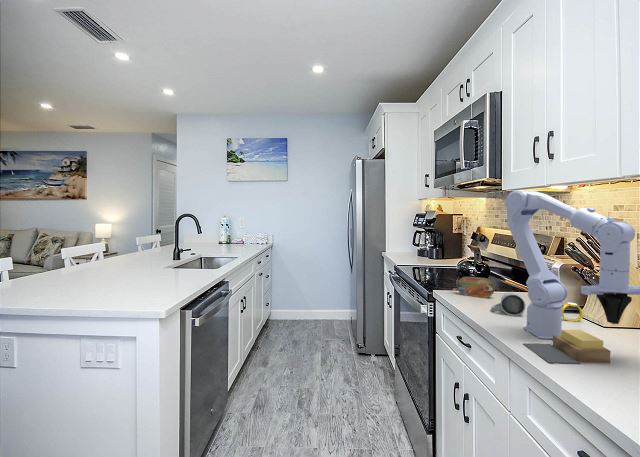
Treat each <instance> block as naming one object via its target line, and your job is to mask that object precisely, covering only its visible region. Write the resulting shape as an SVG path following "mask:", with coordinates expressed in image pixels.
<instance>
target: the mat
mask: <svg viewBox="0 0 640 457" xmlns="http://www.w3.org/2000/svg"><path fill="white" fill-rule="evenodd" d="M522 345H523V346H524V347H526V348H527V349H529V350H530V351H531V352H532V353H534V354H535V355H537V356H538V357H539V358H541V359H542V360H544V361H545V362H546V363H548V364H553V363H559V364H562V365H563V364H566V365H569V364H570V365H571V364H572V365H580V364H581V362H578V361H576V360H575V359H573V358H572V357H570V356H569V355H567V354H565V353H564V352H562V351H561V350H559V349H558V348H556V347H554V346H553V344H552V343H527V342H526V343H525V342H524V343H522ZM559 364H558V365H559Z"/></svg>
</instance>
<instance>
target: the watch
mask: <svg viewBox="0 0 640 457" xmlns="http://www.w3.org/2000/svg"><path fill="white" fill-rule="evenodd" d="M567 307H574V308H575V307H576V308H577V309H578V311H579V315H578V317H577V318H576V319H573V318H572V319H570V318H566V317H565V314H564V312H565V309H566V308H567ZM583 317H584V311H583V309H582V308H581V307H580V306H579V305H578V304H577V303H575V302H566V304H563V305H562V319H564V320H565V321H567V322H576V321H578V322H579V321H581V319H582V318H583Z"/></svg>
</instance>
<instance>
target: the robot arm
mask: <svg viewBox="0 0 640 457" xmlns="http://www.w3.org/2000/svg"><path fill="white" fill-rule="evenodd" d="M503 204H504V206H505V209H506V223H507V224H506V225H507V226H508V230H509V231H510V234H511V235H512V239H513V240H514V242H515V245H516V247H517V250H518V253H519V254H520V257H521V259H522V262H523V264H524V266H525V268H526V271H527V273H528V275H529V276H528V278H527V280H526V282H525V284H526V286H527V295H528V298H529V300H530V301H531V302H530V303H529V304H528V305H527V308H526V326H523V329H525V330H526V331H527V332H528V333H531V334H533V335H534V336H535V337H537V338H538V339H540V340H541V339H542V340H553V335H560V336H561V330H562V326H563V325H562V320H563V317H562V307H563V302H564V301H565V300H566V299H567V298H568V290H567V287H566V286H565V285H564V284H563V283H562V282H561V281H560V279H559V277H558V276H557V275H556V274H554V273H553V272H552V271H551V270H550V269H549V267H548V264H547V262H546V260H545V258H544V255H543V252H541V249H540V247H539V244H538V242H537V240H536V238H535V236H534V233H533V231H532V228H531V226H530V224H529V223H530V221H531V219H532V218H533V217H534V216H535V214H536V213H537V212H538V211H540V210H541V209H542V210H545V211H547V212H550V213H552V214H554V215H556V216H559V217H562V218H564V219H567V220H569V223H570V226H571V227H573V228H575V229H577V230H579V231H581V232H583V233H585V234H587V235H590V236H591V237H594V238H595V239H596V241H597V242H598V243H599V244H600V246H599V249H600V251H599V278H598V280H599V282H598V284H593V285H581V287H580V294H582V295H585V296H591V295H596V296H595V297H596V298H597V300H598V301H599V303H600V305H601V306H602V308H603V311H604V314H605V319H606V322H607V323H610V324H613V325H619V323H620V322H621V319H622V315H623V313H624V311H625V310H626V308H627V307H628V305H629V304H630V303H631V302H632V298H633V297H632V296H637V295H638V296H639V295H640V285H638V286H637V285H630V263H631V261H630V260H631V242H632V241H633V240H634V239H635V236H636V232H635V231H636V229H634V227H633V226H632V225H631V224H629V223H628V222H627V221H615V217H612V216H605V215H603V214H600V213H598V212H596V209H595V208H593V207H581V208H578V209H577V208H575V207H573V206H571V205H568V204H566V203H564V202H562V201H560V200H558V199H556V198H554V197H553V196H550V195H549V194H547V193H543V192H539V191H538V190H537V191H536V190H532V191H531V190H530V191H529V190H528V191H526V190H518V189H517V190H512V191H511V192H510V193H509V194H508V195H507V197H506V199H505V201H504V203H503ZM629 295H631V296H629Z"/></svg>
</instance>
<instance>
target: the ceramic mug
mask: <svg viewBox="0 0 640 457" xmlns="http://www.w3.org/2000/svg"><path fill="white" fill-rule="evenodd" d="M490 307H491V308H490V309H491V311H492V312H495V313H496V312H500V311H502V312H503V313H504V314H506V315H508V316H510V317H511V316H512V317H518V316H521V315H522V314H523V313H524V312H525V310H526V302H525V300H524V298H523V297H522V295H520V294H519V293H517V292H514V291H509V292H508V291H507V292H505V293H504V294H503V295H502V296H501V298H500V302H499V303H496V304H494V305H492V306H490Z"/></svg>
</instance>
